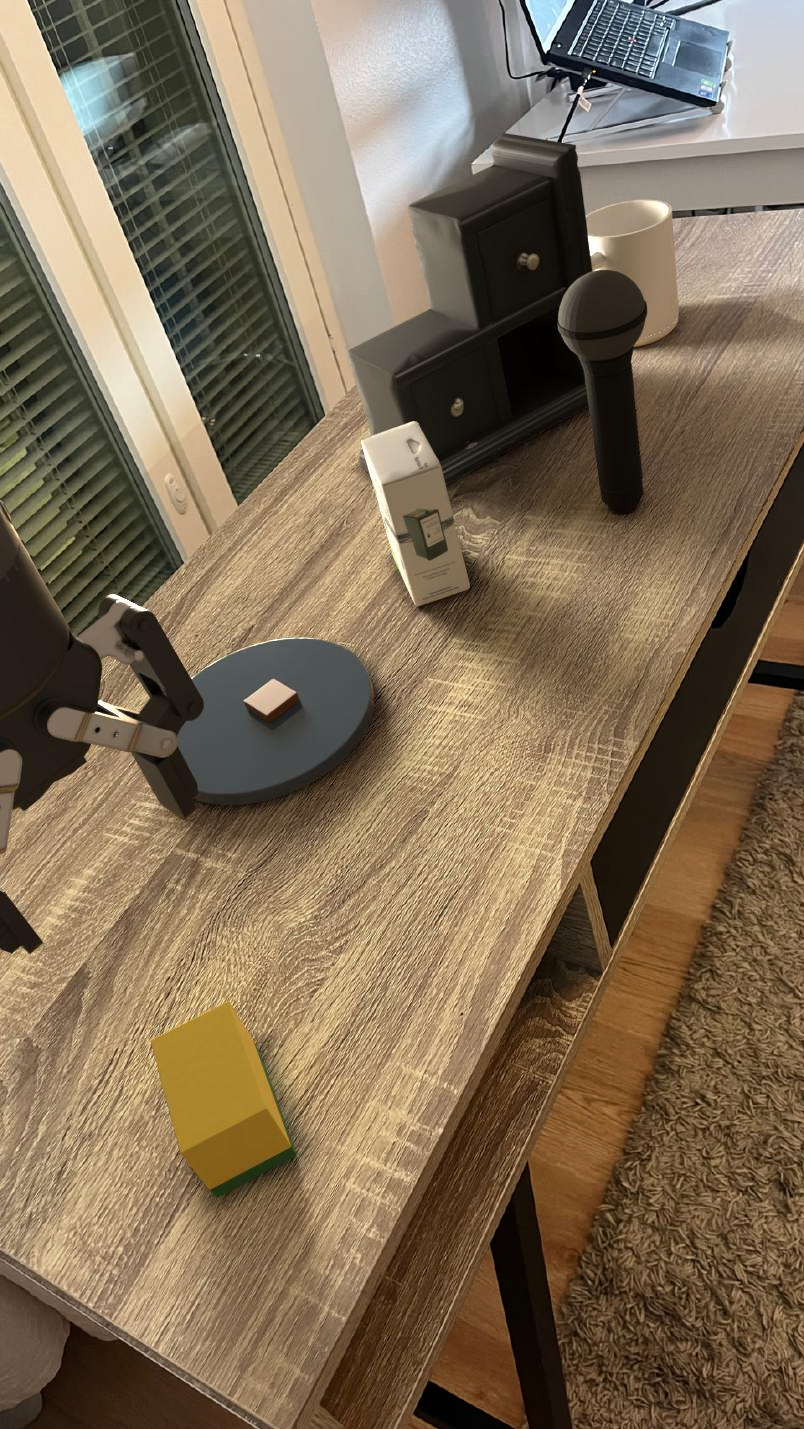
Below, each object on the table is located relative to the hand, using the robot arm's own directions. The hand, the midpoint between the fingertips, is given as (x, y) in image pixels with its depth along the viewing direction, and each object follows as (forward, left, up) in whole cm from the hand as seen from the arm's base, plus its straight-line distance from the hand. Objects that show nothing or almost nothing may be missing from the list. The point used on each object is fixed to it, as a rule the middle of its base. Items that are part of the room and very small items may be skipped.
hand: (106, 872), depth 47 cm
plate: (+10, +28, -18) cm, 35 cm away
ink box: (+28, +37, -18) cm, 50 cm away
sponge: (-1, -2, -18) cm, 18 cm away
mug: (+63, +62, -18) cm, 90 cm away
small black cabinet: (+42, +55, -18) cm, 72 cm away
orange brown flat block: (+11, +28, -17) cm, 34 cm away
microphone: (+45, +34, -18) cm, 59 cm away
